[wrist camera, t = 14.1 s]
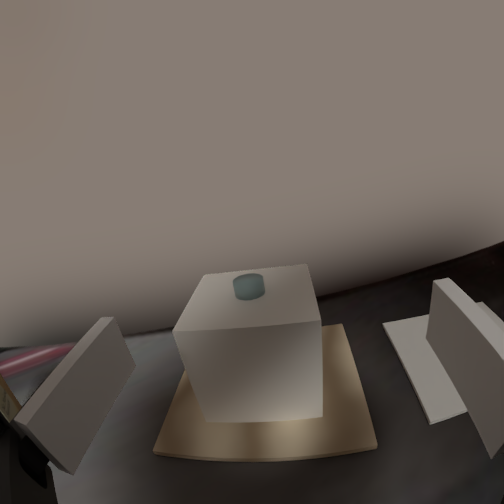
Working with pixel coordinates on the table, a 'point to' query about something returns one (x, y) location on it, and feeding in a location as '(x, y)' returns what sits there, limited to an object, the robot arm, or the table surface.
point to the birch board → (278, 432)
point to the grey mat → (428, 366)
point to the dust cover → (254, 345)
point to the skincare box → (8, 401)
